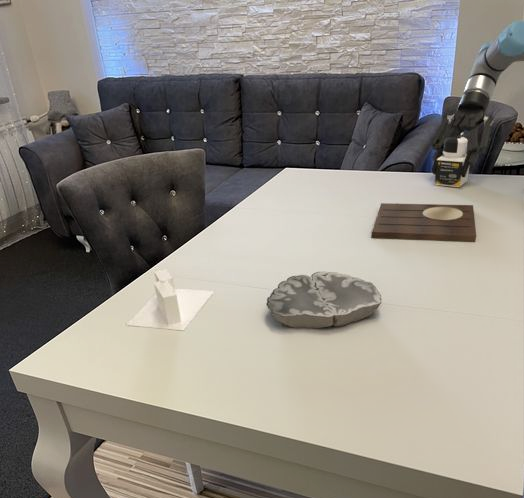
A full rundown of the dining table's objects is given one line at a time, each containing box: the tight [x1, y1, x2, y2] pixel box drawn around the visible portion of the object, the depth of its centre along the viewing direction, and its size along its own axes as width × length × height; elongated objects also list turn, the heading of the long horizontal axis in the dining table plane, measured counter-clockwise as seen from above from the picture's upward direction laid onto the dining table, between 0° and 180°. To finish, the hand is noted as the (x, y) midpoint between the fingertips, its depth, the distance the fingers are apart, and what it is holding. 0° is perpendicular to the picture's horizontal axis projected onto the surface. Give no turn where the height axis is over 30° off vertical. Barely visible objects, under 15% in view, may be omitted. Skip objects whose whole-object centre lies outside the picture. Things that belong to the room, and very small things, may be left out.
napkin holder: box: [126, 268, 215, 331], centre depth 97 cm, size 15×11×6 cm
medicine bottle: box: [434, 136, 471, 188], centre depth 146 cm, size 7×7×12 cm
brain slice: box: [265, 271, 382, 329], centre depth 94 cm, size 20×17×3 cm
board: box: [370, 202, 477, 243], centre depth 125 cm, size 22×20×2 cm
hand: (448, 173), depth 145 cm, fingers closed on medicine bottle, 7 cm apart
